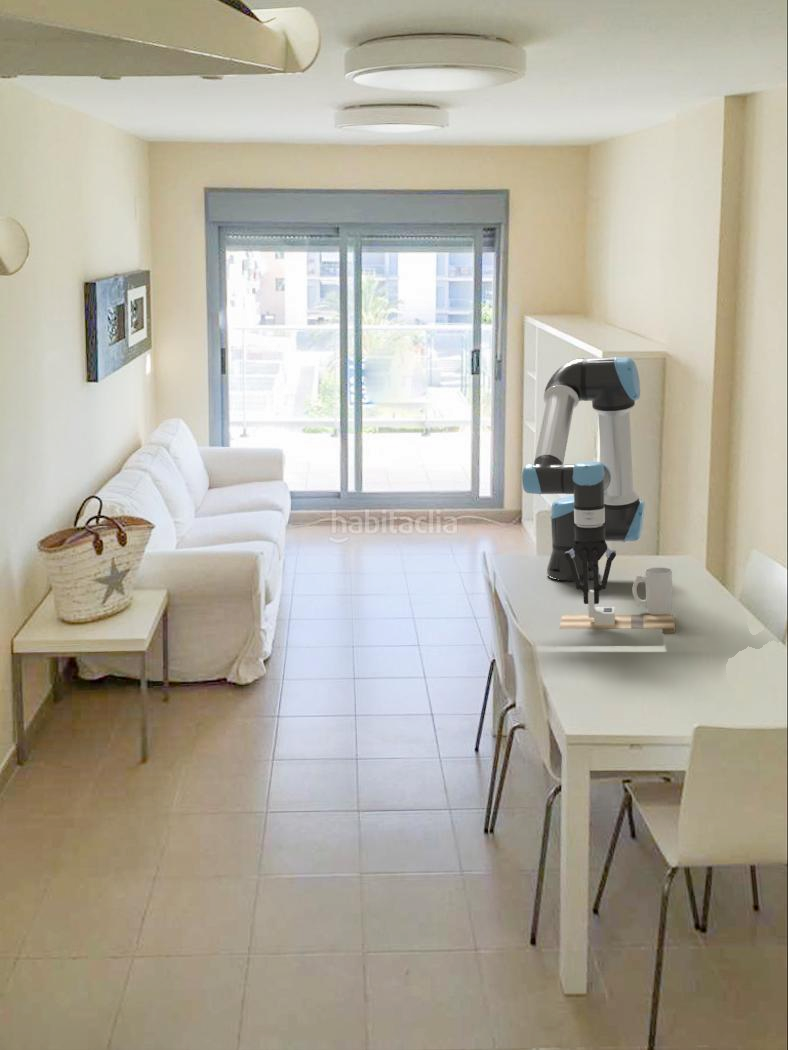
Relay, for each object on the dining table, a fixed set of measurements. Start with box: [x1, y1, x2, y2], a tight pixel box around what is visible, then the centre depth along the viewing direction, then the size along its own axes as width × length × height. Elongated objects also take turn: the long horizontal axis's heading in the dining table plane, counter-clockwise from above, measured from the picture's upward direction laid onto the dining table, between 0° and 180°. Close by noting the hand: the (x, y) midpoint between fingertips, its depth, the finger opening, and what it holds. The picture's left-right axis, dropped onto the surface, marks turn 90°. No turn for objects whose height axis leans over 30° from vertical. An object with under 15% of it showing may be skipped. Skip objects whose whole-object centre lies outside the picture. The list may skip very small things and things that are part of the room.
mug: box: [631, 566, 673, 615], centre depth 320 cm, size 10×7×12 cm, turn 84°
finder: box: [594, 606, 616, 625], centre depth 314 cm, size 6×5×3 cm
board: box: [559, 614, 676, 634], centre depth 314 cm, size 12×28×1 cm, turn 80°
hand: (591, 616), depth 315 cm, fingers closed
